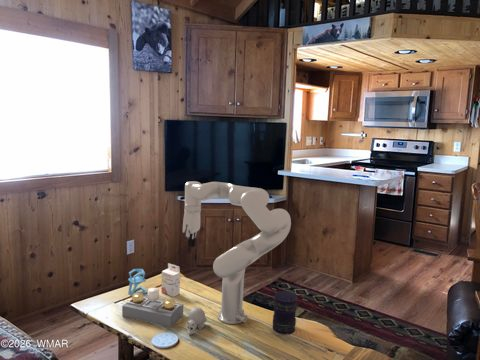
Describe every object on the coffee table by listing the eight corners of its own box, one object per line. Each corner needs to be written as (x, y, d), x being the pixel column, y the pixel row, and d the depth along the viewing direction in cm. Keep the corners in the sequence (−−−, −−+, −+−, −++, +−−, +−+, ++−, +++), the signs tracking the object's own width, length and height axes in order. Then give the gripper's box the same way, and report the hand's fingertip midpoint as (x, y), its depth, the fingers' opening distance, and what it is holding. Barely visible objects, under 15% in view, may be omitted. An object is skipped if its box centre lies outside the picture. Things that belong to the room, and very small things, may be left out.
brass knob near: (176, 306, 167) (176, 300, 167) (171, 311, 162) (171, 305, 162) (166, 304, 169) (166, 298, 168) (161, 309, 164) (161, 303, 163)
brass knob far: (145, 300, 172) (145, 294, 171) (139, 304, 167) (139, 298, 167) (136, 298, 173) (136, 292, 173) (129, 302, 169) (129, 296, 168)
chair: (125, 292, 191) (125, 269, 189) (140, 287, 196) (140, 265, 194) (132, 297, 185) (132, 274, 183) (148, 292, 190) (148, 270, 189)
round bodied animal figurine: (182, 338, 156) (178, 324, 152) (194, 315, 166) (191, 302, 162) (197, 342, 154) (193, 327, 150) (209, 319, 163) (206, 305, 159)
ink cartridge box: (160, 292, 191) (161, 265, 189) (167, 289, 195) (167, 262, 193) (173, 297, 187) (173, 269, 185) (180, 293, 191) (180, 266, 189)
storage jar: (267, 327, 163) (269, 294, 161) (283, 320, 169) (285, 289, 167) (284, 337, 155) (286, 303, 153) (300, 330, 161) (302, 297, 159)
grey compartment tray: (183, 314, 171) (183, 302, 170) (170, 327, 159) (170, 315, 158) (137, 304, 178) (137, 293, 177) (122, 316, 167) (122, 304, 166)
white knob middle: (161, 297, 169) (161, 288, 168) (155, 301, 164) (155, 293, 164) (151, 295, 171) (151, 286, 170) (145, 299, 166) (145, 291, 165)
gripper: (192, 204, 182) (191, 240, 184) (177, 210, 168) (177, 249, 170) (206, 206, 179) (205, 242, 182) (193, 212, 165) (192, 252, 168)
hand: (191, 246), depth 176 cm, fingers closed
